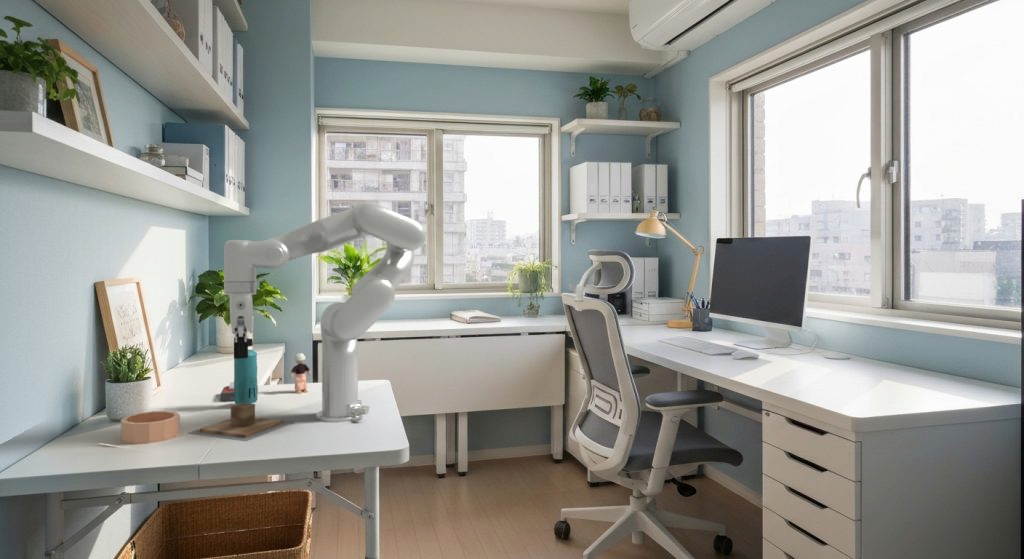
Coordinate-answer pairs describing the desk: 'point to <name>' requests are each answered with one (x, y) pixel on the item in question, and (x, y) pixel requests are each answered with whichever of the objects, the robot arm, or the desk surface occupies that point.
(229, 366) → the desk surface
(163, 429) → the bowl
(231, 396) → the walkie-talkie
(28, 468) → the desk surface
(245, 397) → the beverage bottle
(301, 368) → the grandmother figurine
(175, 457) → the desk surface
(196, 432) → the mat
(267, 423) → the lid
